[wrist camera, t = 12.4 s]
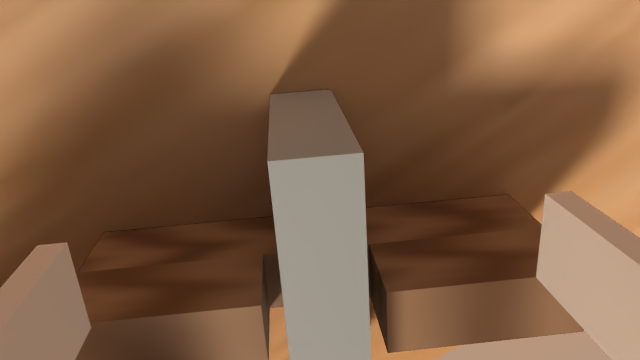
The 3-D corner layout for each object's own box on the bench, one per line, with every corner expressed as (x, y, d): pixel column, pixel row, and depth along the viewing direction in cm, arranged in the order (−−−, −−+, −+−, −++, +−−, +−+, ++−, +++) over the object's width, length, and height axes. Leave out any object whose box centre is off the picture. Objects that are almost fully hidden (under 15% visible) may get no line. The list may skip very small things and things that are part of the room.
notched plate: (297, 354, 31) (307, 514, 22) (270, 94, 25) (267, 161, 16) (346, 348, 31) (376, 505, 22) (330, 89, 25) (363, 152, 16)
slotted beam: (116, 280, 28) (58, 388, 20) (104, 232, 27) (39, 328, 19) (504, 242, 29) (583, 331, 22) (508, 194, 28) (592, 271, 21)
